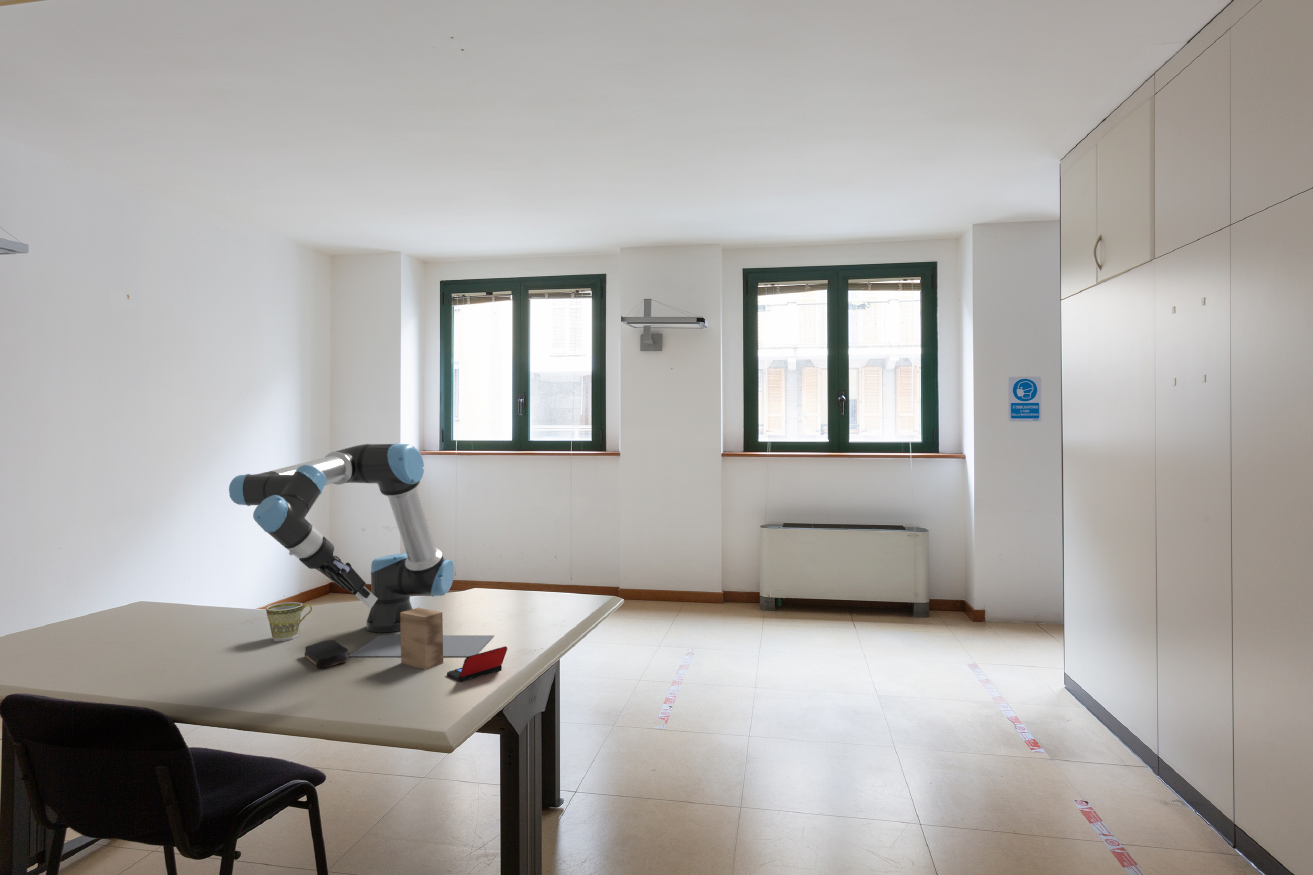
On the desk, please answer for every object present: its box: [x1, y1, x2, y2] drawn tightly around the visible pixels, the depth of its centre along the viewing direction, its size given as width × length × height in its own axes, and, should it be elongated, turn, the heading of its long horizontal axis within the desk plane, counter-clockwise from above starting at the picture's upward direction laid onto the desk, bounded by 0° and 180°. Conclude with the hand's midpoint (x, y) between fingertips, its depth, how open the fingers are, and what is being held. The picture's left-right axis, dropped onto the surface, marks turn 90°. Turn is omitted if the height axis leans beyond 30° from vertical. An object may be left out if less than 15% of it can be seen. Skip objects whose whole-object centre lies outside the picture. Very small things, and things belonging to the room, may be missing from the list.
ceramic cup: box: [265, 601, 313, 642], centre depth 224 cm, size 13×10×10 cm
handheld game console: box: [446, 645, 508, 683], centre depth 188 cm, size 12×11×7 cm
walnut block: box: [400, 607, 444, 670], centre depth 198 cm, size 6×10×14 cm, turn 57°
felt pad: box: [349, 634, 495, 658], centre depth 213 cm, size 20×36×1 cm, turn 87°
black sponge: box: [304, 639, 350, 669], centre depth 202 cm, size 16×8×4 cm, turn 40°
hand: (372, 602), depth 187 cm, fingers closed
